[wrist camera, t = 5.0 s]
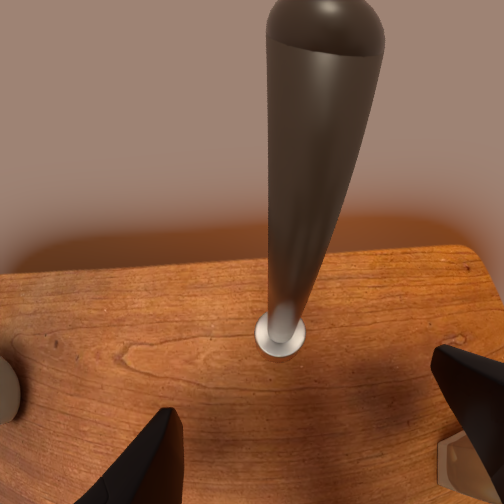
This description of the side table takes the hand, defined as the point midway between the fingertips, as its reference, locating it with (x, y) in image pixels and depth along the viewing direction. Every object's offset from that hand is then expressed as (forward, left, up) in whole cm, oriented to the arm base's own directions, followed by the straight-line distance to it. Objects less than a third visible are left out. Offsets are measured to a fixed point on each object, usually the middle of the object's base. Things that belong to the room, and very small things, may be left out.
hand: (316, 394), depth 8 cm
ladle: (+4, -2, -11) cm, 12 cm away
